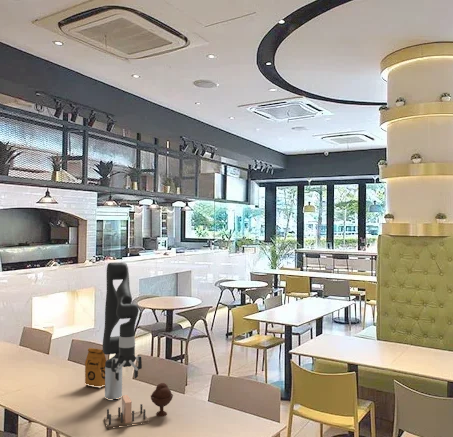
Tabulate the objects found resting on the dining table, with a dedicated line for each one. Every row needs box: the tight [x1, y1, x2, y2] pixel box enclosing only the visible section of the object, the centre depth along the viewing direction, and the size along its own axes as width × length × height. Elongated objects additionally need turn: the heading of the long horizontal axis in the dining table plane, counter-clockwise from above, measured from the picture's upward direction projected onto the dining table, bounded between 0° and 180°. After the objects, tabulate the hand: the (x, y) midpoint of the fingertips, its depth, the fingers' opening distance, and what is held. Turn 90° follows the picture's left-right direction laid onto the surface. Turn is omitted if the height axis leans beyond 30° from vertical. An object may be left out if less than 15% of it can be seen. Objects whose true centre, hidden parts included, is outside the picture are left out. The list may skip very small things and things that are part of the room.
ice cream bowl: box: [150, 382, 174, 417], centre depth 229 cm, size 11×11×15 cm
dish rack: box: [103, 403, 149, 429], centre depth 221 cm, size 12×19×6 cm, turn 112°
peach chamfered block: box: [121, 394, 132, 423], centre depth 221 cm, size 10×3×10 cm, turn 23°
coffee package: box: [84, 347, 107, 386], centre depth 270 cm, size 10×12×22 cm
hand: (126, 379), depth 221 cm, fingers open, 8 cm apart
